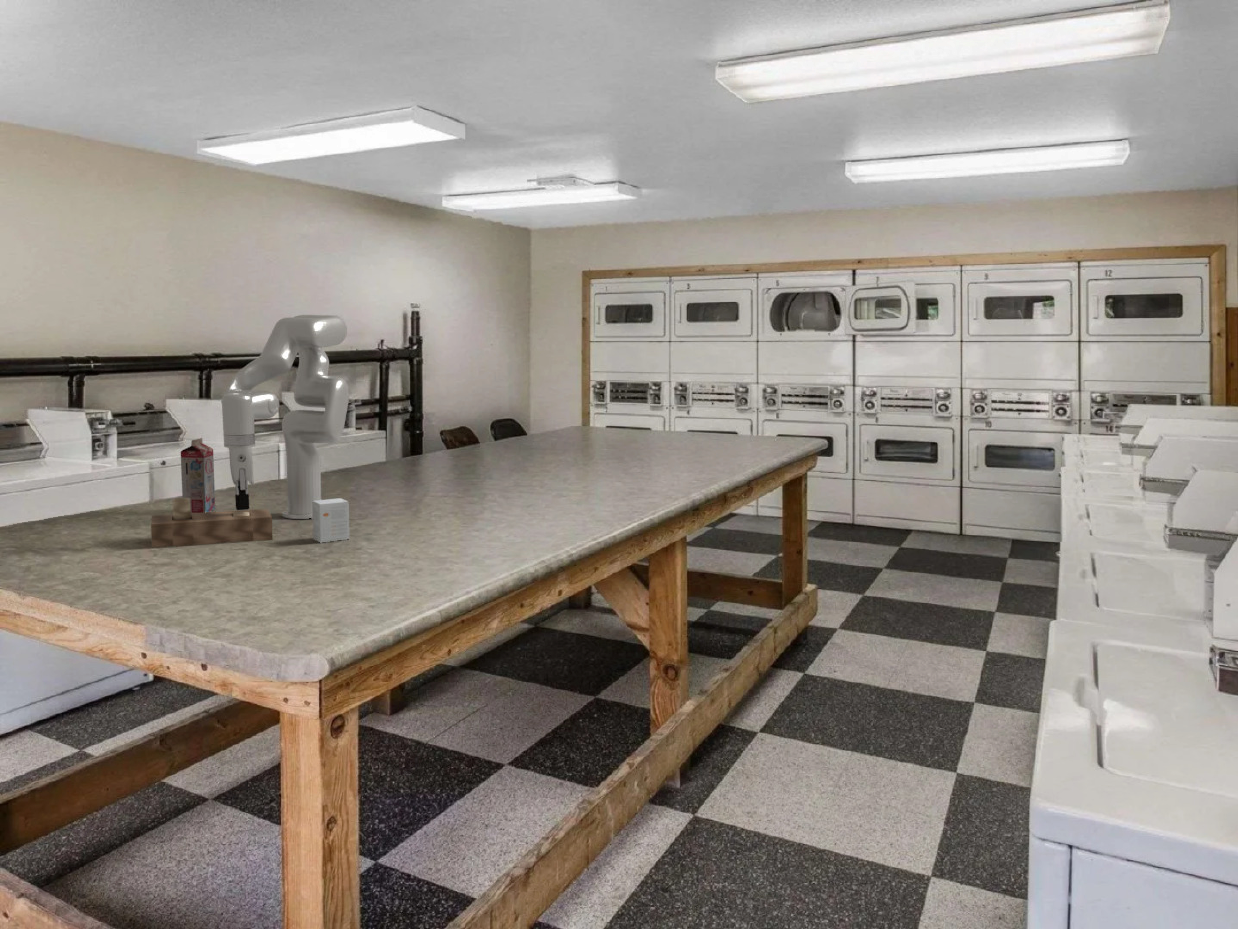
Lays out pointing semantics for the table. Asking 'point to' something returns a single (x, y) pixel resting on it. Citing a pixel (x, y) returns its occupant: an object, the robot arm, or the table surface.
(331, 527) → the small box
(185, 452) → the juice carton
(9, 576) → the table surface
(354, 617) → the table surface
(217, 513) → the press block
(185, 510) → the peg
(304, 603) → the table surface
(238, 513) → the peg
